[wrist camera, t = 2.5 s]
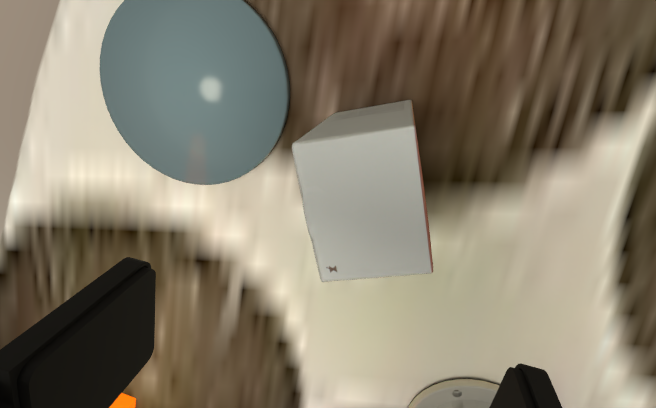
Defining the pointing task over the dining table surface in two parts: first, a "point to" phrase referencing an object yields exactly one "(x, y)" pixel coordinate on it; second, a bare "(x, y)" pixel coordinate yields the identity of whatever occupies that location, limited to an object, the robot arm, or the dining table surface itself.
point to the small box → (365, 194)
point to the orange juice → (124, 402)
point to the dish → (195, 86)
